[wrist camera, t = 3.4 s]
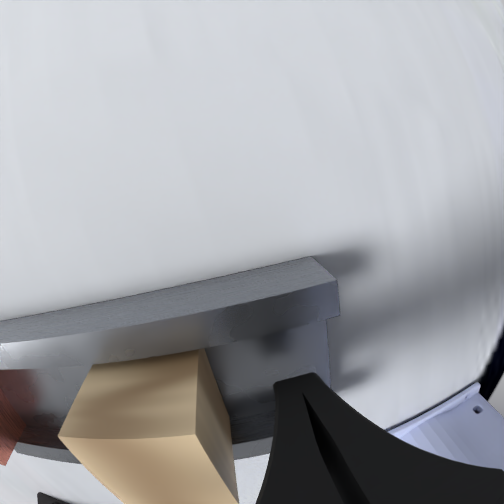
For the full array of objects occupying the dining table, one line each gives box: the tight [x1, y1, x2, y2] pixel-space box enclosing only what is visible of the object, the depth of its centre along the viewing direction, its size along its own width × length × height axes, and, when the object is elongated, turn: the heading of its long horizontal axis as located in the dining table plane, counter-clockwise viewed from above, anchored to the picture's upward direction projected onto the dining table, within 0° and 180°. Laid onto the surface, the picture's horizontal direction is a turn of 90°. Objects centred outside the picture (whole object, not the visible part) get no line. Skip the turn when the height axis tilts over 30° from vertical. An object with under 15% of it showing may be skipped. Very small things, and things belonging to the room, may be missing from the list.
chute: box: [0, 256, 340, 466], centre depth 9 cm, size 18×7×4 cm, turn 101°
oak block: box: [58, 348, 239, 504], centre depth 8 cm, size 4×4×4 cm
